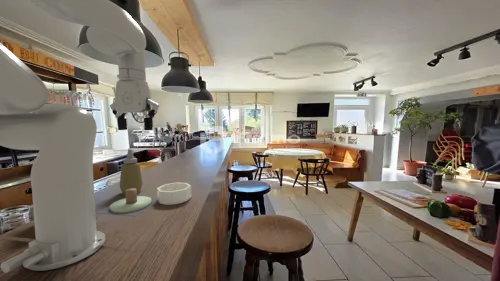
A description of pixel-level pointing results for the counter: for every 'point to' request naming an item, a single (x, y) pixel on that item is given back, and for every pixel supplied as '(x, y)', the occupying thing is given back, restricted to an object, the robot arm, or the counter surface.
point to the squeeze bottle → (130, 174)
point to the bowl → (173, 193)
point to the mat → (135, 213)
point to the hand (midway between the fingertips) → (135, 130)
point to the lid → (130, 202)
